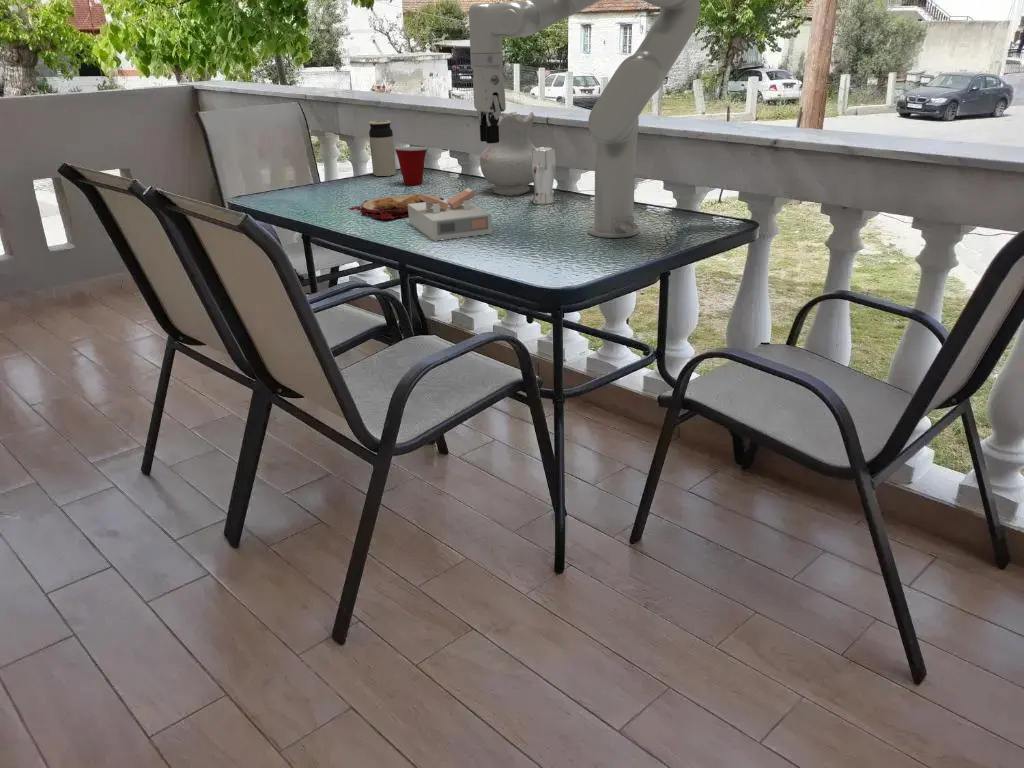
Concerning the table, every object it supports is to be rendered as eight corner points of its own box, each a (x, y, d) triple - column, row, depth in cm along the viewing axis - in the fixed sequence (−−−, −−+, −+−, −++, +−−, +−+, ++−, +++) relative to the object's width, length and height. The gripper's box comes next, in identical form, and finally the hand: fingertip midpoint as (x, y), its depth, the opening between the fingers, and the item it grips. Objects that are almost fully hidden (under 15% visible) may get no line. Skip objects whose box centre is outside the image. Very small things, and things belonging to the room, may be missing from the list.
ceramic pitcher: (464, 194, 248) (455, 112, 236) (508, 180, 259) (502, 101, 248) (513, 204, 234) (506, 116, 222) (557, 188, 245) (553, 104, 234)
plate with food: (463, 209, 227) (462, 197, 225) (383, 222, 211) (382, 209, 210) (415, 199, 244) (414, 187, 243) (338, 210, 229) (337, 198, 227)
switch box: (492, 234, 196) (491, 205, 193) (434, 241, 191) (432, 211, 188) (462, 216, 215) (461, 189, 212) (409, 223, 209) (406, 195, 206)
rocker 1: (446, 212, 198) (449, 204, 198) (423, 203, 195) (425, 195, 194) (440, 207, 203) (442, 200, 202) (416, 199, 199) (419, 191, 199)
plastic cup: (436, 182, 262) (434, 145, 257) (416, 188, 254) (413, 149, 249) (411, 180, 268) (408, 143, 263) (390, 185, 259) (387, 147, 254)
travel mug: (398, 173, 281) (394, 120, 273) (392, 177, 274) (387, 122, 266) (377, 173, 282) (371, 120, 275) (370, 177, 275) (365, 123, 267)
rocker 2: (477, 197, 200) (474, 190, 199) (456, 210, 199) (452, 204, 198) (470, 193, 204) (467, 186, 203) (449, 206, 203) (445, 200, 202)
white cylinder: (556, 199, 232) (555, 146, 225) (554, 204, 225) (554, 150, 219) (532, 199, 232) (531, 147, 226) (530, 204, 226) (529, 150, 220)
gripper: (514, 61, 181) (516, 144, 188) (488, 59, 195) (491, 137, 202) (484, 63, 178) (487, 147, 186) (460, 61, 192) (464, 139, 200)
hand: (489, 141), depth 194 cm, fingers open, 3 cm apart
